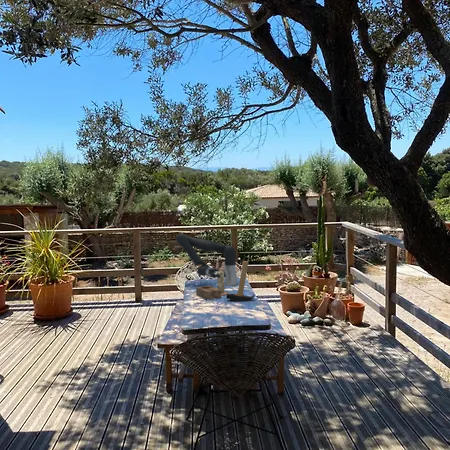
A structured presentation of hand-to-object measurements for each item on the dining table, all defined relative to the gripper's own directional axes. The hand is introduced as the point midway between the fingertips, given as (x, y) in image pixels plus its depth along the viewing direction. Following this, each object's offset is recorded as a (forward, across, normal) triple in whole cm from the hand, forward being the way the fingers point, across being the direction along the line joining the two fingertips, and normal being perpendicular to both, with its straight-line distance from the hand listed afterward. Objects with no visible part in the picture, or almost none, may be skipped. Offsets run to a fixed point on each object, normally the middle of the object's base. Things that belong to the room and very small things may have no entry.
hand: (222, 276), depth 331 cm
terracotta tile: (-3, 0, +14) cm, 15 cm away
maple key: (-3, 0, +13) cm, 13 cm away
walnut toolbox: (-1, -12, +14) cm, 19 cm away
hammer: (+23, +2, +15) cm, 28 cm away
